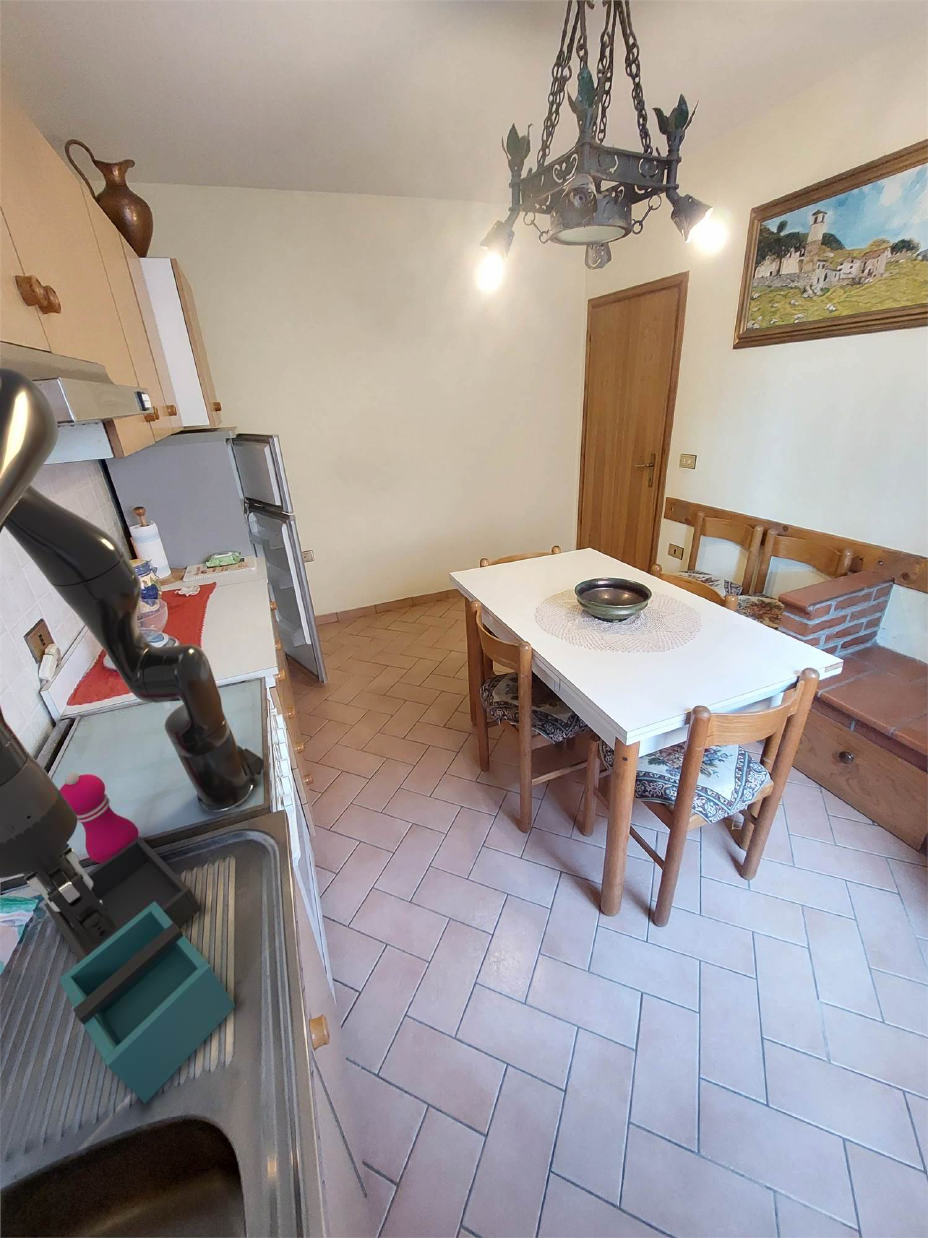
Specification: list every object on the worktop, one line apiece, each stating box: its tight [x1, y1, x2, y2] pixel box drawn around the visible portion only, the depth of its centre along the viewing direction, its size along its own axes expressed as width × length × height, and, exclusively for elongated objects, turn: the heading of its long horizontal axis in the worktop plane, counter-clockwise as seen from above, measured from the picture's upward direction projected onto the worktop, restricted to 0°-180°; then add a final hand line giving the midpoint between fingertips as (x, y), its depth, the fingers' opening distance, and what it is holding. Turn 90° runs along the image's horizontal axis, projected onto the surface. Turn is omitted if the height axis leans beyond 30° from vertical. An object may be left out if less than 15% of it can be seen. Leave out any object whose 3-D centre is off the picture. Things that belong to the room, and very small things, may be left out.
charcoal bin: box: [43, 836, 202, 962], centre depth 74 cm, size 14×17×6 cm
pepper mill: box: [59, 772, 139, 865], centre depth 80 cm, size 7×7×20 cm
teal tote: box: [58, 901, 236, 1104], centre depth 61 cm, size 11×14×11 cm
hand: (88, 912), depth 53 cm, fingers open, 8 cm apart
